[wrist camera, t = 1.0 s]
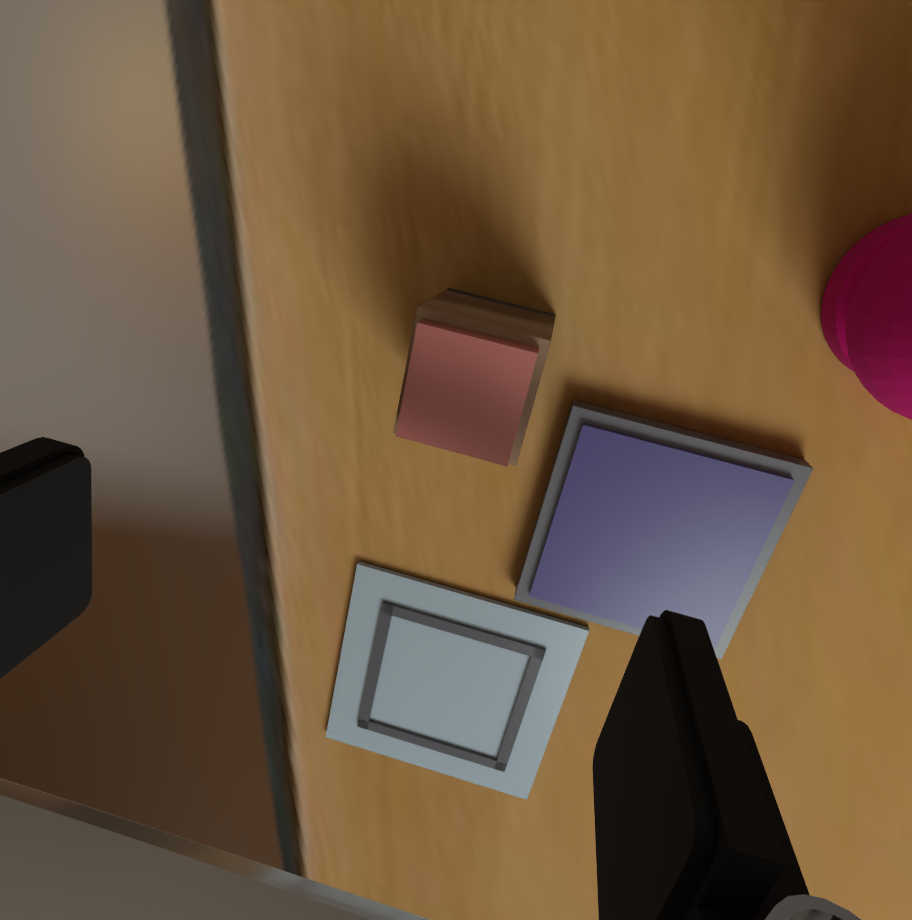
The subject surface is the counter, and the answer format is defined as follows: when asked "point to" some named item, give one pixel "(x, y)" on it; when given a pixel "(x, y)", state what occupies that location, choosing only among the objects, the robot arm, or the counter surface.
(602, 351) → the counter surface
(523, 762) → the light grey flat square
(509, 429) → the stamp
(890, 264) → the pepper mill
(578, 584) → the ink pad
